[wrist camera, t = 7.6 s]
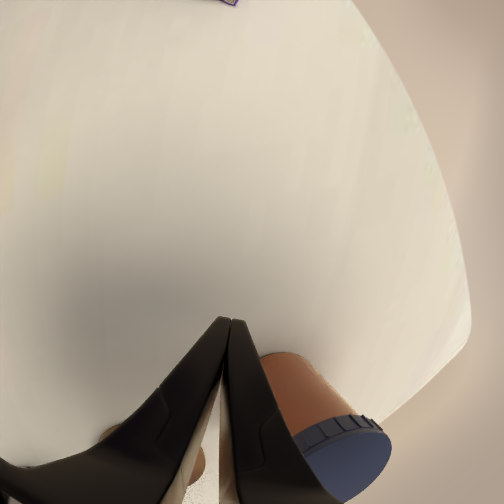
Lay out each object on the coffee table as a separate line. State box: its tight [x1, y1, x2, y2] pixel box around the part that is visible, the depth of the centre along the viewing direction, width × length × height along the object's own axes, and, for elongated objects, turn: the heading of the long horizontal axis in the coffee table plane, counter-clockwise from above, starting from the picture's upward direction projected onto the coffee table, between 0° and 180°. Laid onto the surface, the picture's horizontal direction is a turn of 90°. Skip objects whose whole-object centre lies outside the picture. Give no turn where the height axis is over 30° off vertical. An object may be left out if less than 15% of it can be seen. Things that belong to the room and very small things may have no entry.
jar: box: [260, 352, 359, 436], centre depth 17 cm, size 6×6×9 cm
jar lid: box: [293, 414, 392, 503], centre depth 13 cm, size 7×7×2 cm
